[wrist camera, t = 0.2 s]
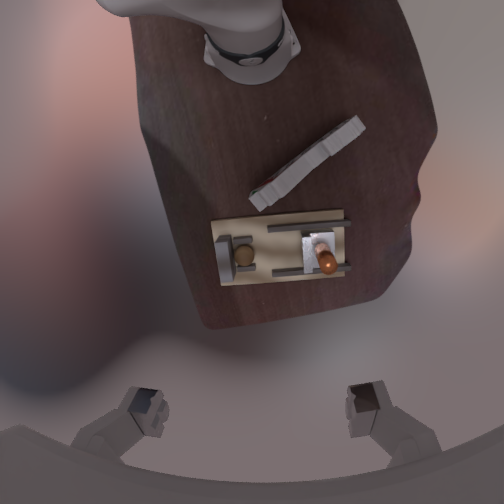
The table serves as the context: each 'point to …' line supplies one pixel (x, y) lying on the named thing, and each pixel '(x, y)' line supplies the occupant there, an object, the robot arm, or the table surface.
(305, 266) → the handle
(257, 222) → the press bed
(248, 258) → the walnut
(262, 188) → the decorative sign
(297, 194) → the table surface
